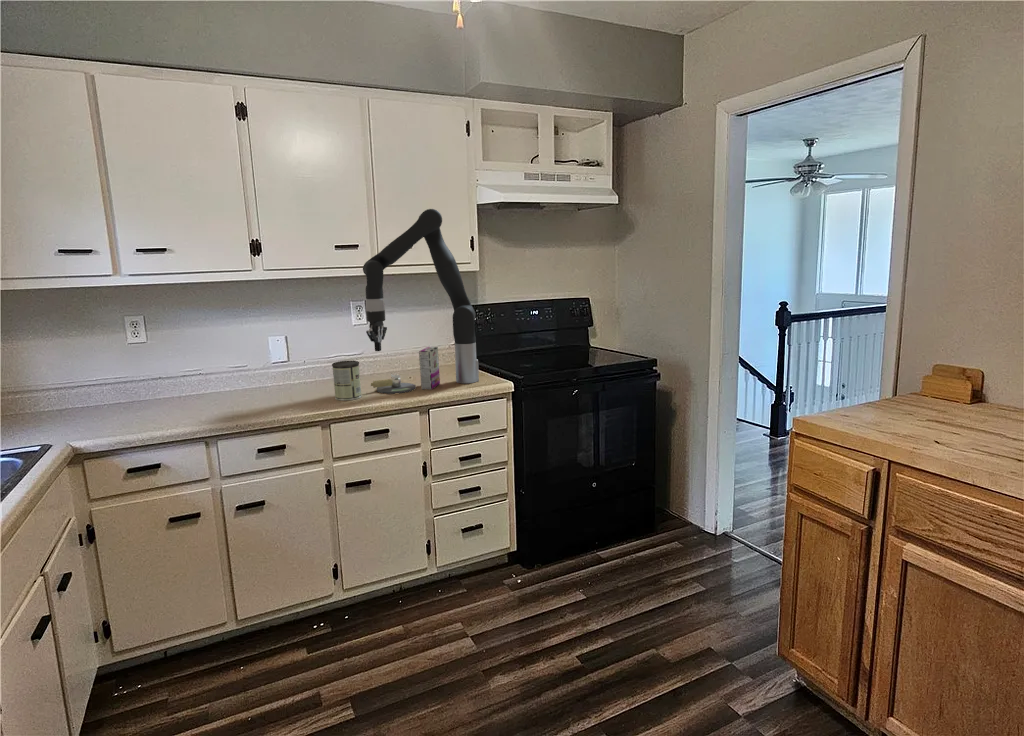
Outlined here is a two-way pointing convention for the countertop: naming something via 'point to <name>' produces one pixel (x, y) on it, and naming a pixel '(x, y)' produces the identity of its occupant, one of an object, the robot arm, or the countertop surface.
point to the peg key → (388, 381)
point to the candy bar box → (429, 368)
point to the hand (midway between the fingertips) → (378, 351)
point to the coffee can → (346, 380)
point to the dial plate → (404, 388)
